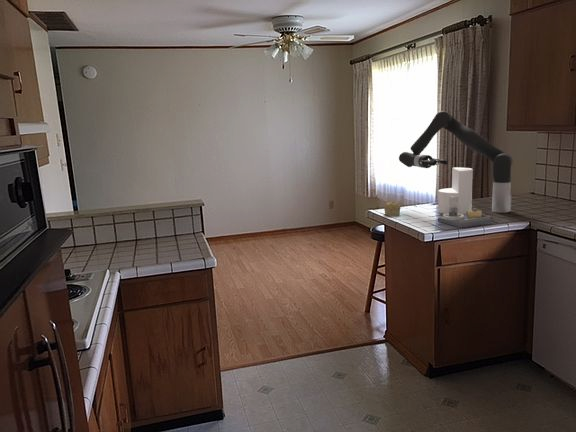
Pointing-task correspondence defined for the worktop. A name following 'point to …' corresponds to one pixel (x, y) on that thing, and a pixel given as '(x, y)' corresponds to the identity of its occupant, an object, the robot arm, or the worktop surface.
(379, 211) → the worktop surface
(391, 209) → the decorative item
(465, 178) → the white stepped tower
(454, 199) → the grey block on base
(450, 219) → the carrier
